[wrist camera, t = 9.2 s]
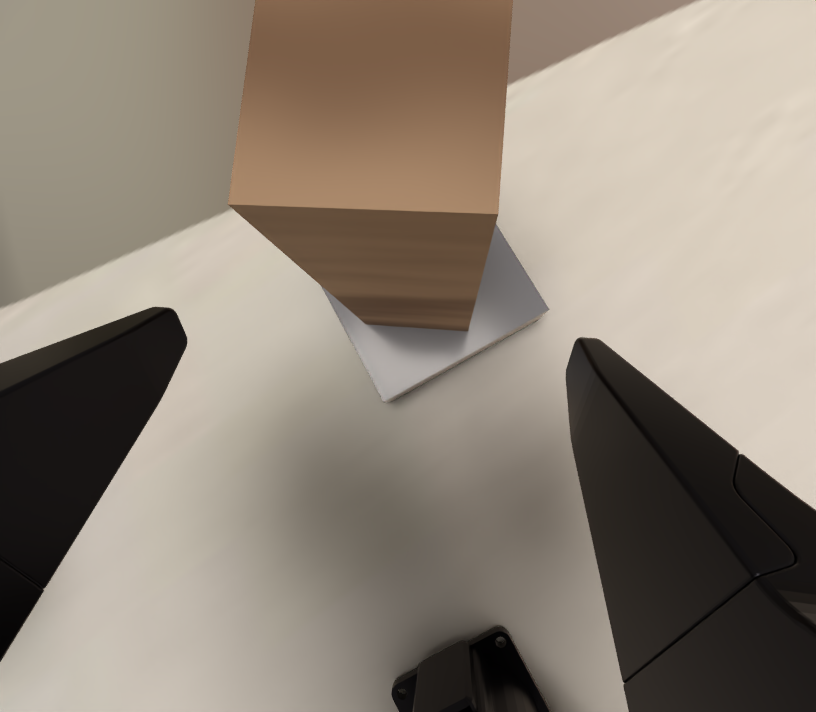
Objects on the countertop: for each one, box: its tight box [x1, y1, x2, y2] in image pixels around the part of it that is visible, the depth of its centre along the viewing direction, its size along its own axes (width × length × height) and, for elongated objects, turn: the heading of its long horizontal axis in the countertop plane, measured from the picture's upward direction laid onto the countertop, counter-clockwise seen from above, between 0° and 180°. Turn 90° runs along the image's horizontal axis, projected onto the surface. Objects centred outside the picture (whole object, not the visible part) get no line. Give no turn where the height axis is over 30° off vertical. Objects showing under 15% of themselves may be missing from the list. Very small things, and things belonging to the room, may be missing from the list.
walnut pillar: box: [228, 0, 513, 331], centre depth 14 cm, size 5×5×12 cm
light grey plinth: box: [322, 224, 549, 402], centre depth 21 cm, size 9×9×2 cm
